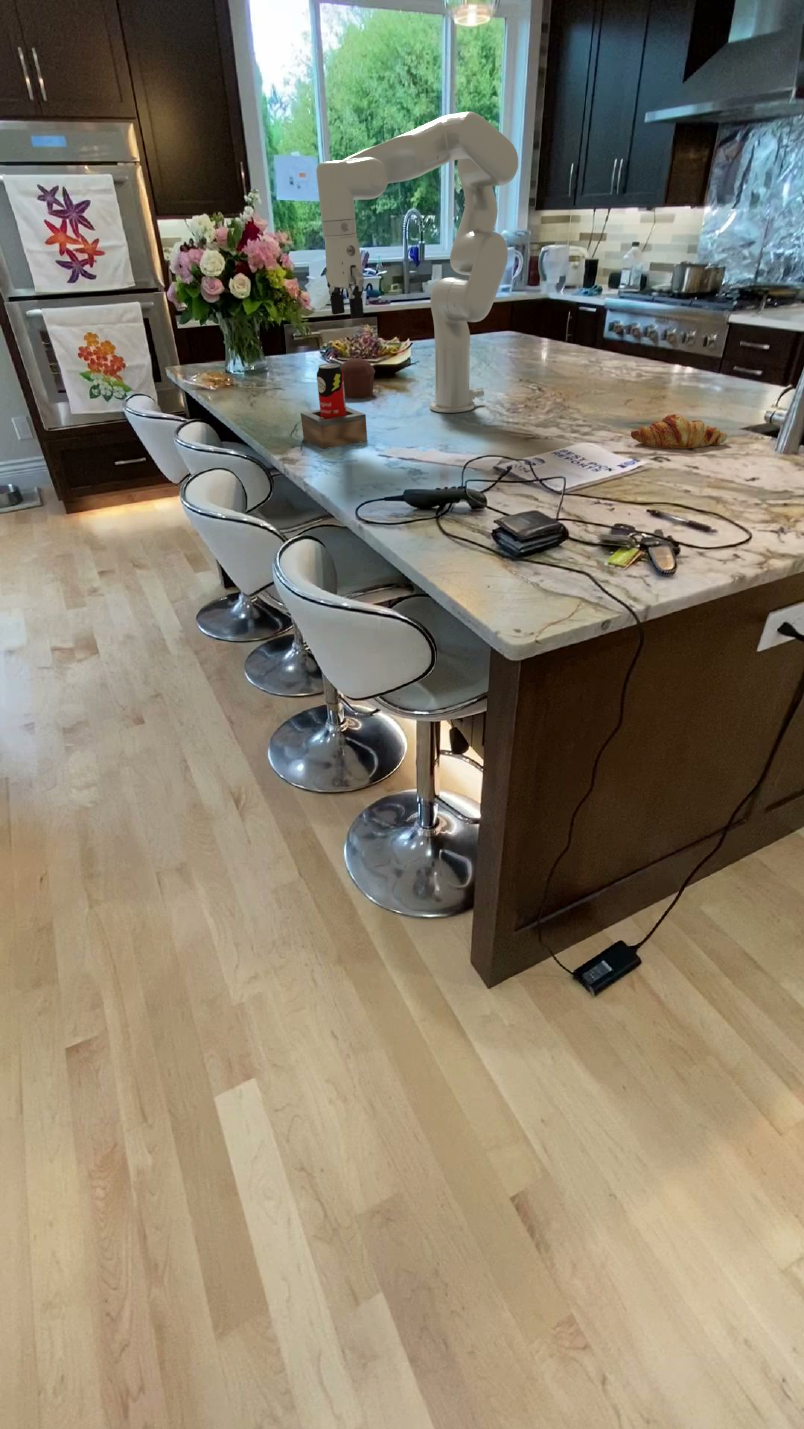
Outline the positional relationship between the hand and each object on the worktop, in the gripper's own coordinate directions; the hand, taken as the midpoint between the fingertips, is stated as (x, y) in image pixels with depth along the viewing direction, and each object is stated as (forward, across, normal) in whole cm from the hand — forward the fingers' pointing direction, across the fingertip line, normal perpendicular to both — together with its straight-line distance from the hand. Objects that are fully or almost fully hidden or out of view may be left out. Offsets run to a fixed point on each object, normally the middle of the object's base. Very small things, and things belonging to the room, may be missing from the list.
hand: (347, 315), depth 173 cm
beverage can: (+21, -4, +9) cm, 23 cm away
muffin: (+27, +37, -20) cm, 50 cm away
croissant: (+28, -60, -51) cm, 84 cm away
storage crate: (+26, -4, +9) cm, 28 cm away
